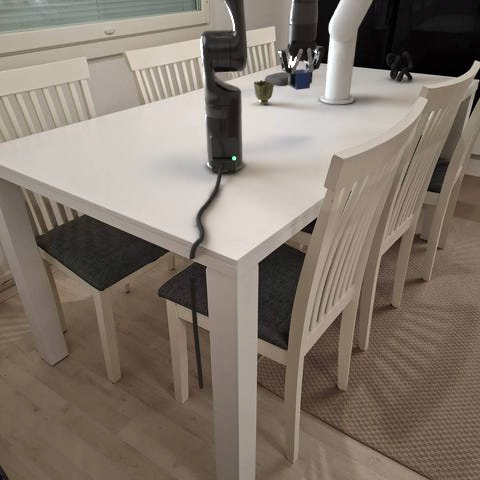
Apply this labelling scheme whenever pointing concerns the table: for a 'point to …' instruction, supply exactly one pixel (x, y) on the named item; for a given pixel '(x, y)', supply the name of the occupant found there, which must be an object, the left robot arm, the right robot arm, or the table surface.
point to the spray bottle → (278, 78)
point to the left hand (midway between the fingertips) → (299, 85)
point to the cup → (263, 91)
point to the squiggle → (399, 66)
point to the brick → (302, 79)
